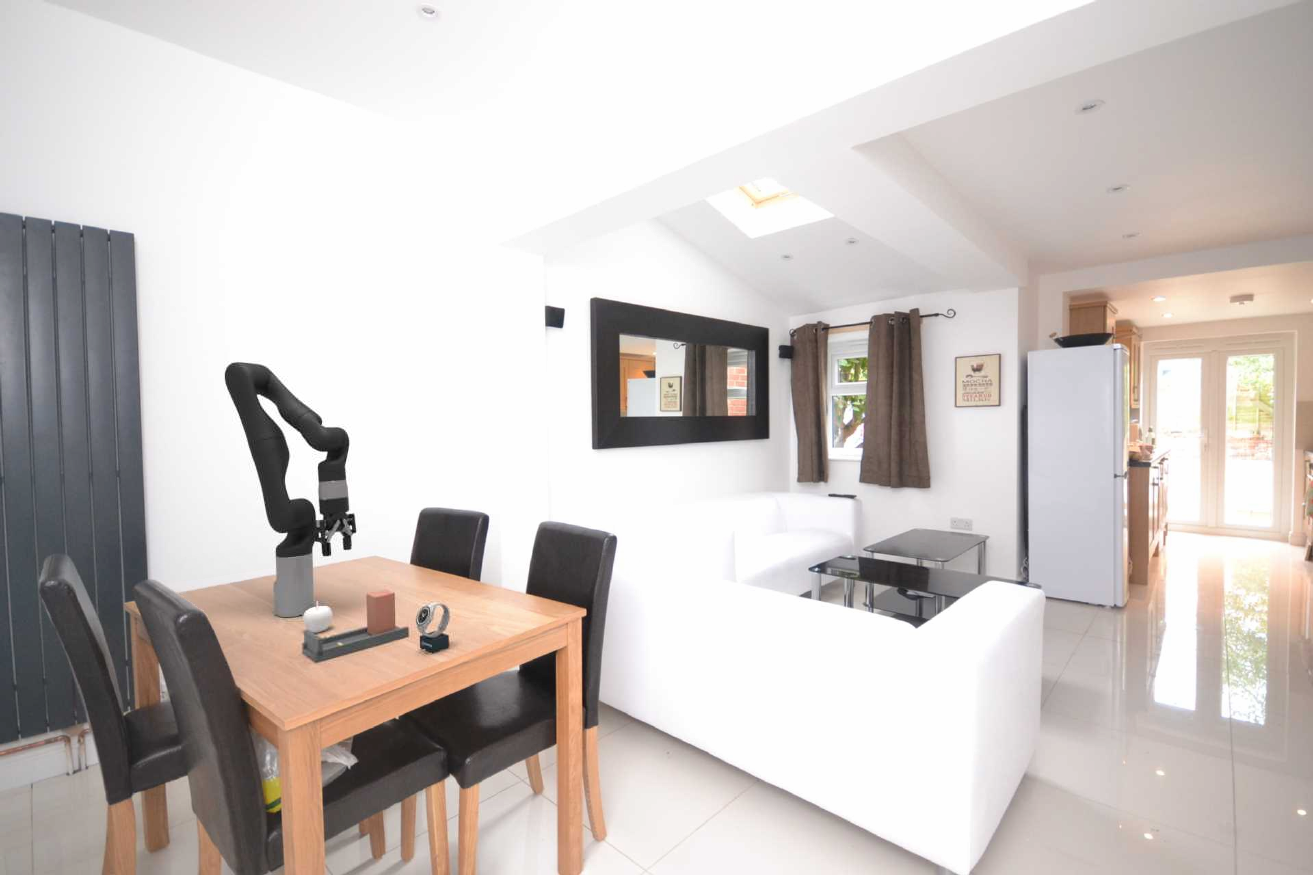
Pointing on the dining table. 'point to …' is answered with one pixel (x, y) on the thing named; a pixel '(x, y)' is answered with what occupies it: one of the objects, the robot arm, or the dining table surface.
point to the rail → (346, 642)
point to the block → (380, 612)
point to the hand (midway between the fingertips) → (337, 552)
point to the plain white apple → (317, 618)
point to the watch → (436, 638)
